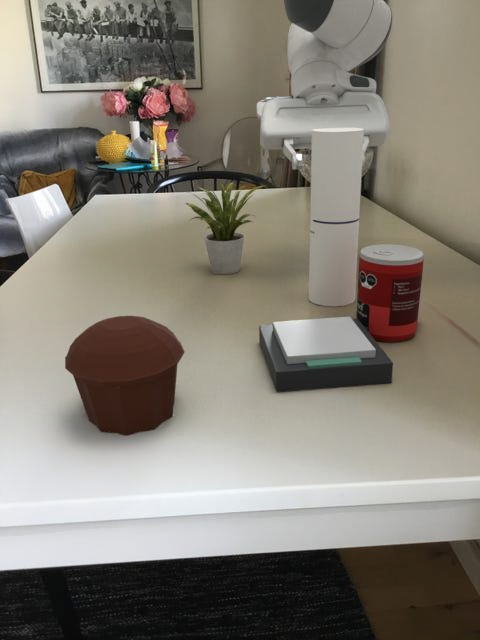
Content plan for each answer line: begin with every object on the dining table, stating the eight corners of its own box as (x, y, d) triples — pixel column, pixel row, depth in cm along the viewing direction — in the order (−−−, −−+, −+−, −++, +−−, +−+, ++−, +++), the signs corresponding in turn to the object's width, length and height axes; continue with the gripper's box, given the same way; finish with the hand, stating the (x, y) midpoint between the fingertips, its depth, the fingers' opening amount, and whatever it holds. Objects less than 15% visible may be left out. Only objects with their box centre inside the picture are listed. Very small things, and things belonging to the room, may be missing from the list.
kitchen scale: (356, 335, 75) (357, 311, 74) (391, 382, 63) (393, 354, 62) (259, 343, 74) (258, 318, 72) (276, 392, 62) (276, 363, 60)
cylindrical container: (331, 310, 84) (337, 132, 74) (299, 297, 89) (301, 130, 79) (364, 299, 87) (374, 128, 78) (331, 287, 93) (337, 127, 83)
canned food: (360, 317, 81) (365, 242, 76) (419, 323, 78) (426, 246, 74) (350, 338, 74) (354, 257, 70) (413, 346, 71) (421, 262, 67)
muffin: (190, 383, 64) (185, 300, 60) (186, 439, 54) (179, 344, 50) (85, 387, 64) (73, 305, 60) (61, 445, 54) (44, 350, 50)
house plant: (251, 254, 113) (249, 170, 107) (282, 272, 101) (282, 179, 95) (182, 263, 108) (176, 176, 102) (206, 284, 96) (201, 187, 90)
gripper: (255, 83, 88) (261, 154, 83) (385, 79, 89) (399, 149, 84) (254, 112, 94) (259, 181, 89) (376, 108, 95) (388, 176, 89)
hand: (328, 165), depth 86 cm, fingers open, 8 cm apart
